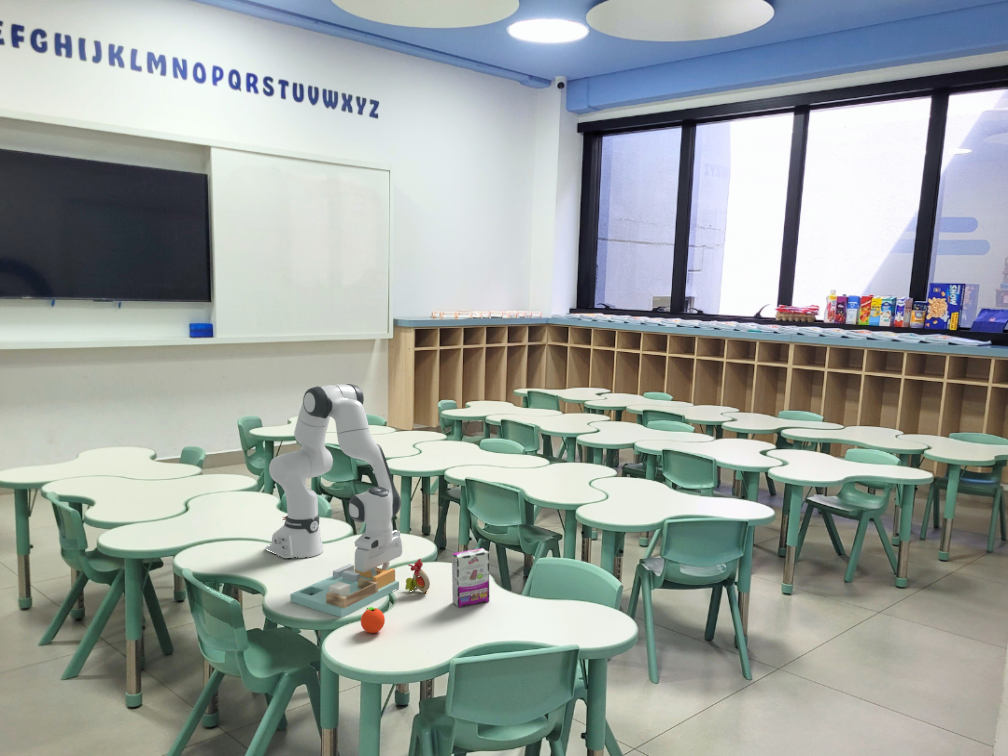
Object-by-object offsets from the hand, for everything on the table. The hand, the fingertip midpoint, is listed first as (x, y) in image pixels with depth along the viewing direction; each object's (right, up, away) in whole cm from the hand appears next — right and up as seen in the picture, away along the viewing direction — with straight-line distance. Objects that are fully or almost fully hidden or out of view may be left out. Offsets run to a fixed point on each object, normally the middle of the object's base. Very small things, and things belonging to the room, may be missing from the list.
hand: (379, 576), depth 257 cm
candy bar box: (+31, -5, -12) cm, 34 cm away
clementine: (+3, -7, -34) cm, 35 cm away
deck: (-10, -4, -8) cm, 13 cm away
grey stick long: (-9, -1, -1) cm, 9 cm away
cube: (-10, -3, -17) cm, 20 cm away
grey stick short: (-13, 0, +4) cm, 13 cm away
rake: (-4, -1, -2) cm, 4 cm away
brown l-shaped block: (-6, -2, -16) cm, 17 cm away
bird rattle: (+14, -4, -4) cm, 15 cm away
